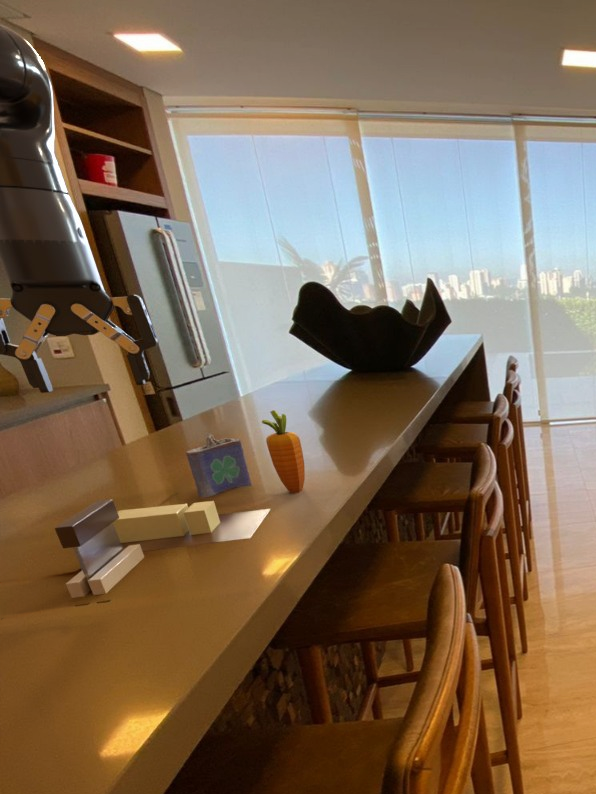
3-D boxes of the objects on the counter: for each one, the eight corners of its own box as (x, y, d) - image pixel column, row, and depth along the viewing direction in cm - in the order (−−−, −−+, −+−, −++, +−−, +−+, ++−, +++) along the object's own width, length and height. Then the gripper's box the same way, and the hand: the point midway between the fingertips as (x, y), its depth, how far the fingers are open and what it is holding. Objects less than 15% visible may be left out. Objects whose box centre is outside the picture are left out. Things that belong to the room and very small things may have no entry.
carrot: (309, 501, 96) (288, 413, 90) (276, 504, 94) (253, 415, 89) (316, 491, 100) (296, 407, 95) (285, 494, 99) (263, 409, 93)
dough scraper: (103, 601, 65) (72, 526, 62) (86, 603, 65) (54, 528, 61) (138, 567, 73) (112, 499, 70) (123, 569, 73) (96, 500, 69)
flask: (208, 504, 94) (189, 442, 90) (195, 502, 95) (175, 440, 91) (256, 486, 103) (241, 429, 99) (244, 485, 103) (228, 428, 99)
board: (93, 565, 74) (90, 557, 73) (135, 530, 84) (132, 523, 84) (251, 546, 79) (249, 538, 79) (272, 515, 90) (270, 508, 89)
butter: (114, 544, 77) (105, 520, 76) (128, 533, 81) (119, 510, 79) (184, 536, 80) (176, 513, 78) (194, 525, 83) (187, 503, 82)
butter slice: (190, 535, 80) (183, 512, 78) (200, 524, 83) (193, 502, 82) (211, 532, 80) (204, 510, 79) (220, 522, 84) (213, 500, 83)
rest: (109, 602, 65) (100, 579, 64) (75, 606, 64) (65, 583, 63) (147, 564, 74) (140, 544, 73) (117, 568, 73) (109, 547, 72)
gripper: (130, 243, 68) (172, 379, 74) (-41, 238, 61) (22, 389, 67) (121, 239, 63) (167, 386, 69) (-69, 233, 55) (2, 399, 61)
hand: (95, 388), depth 68 cm, fingers open, 8 cm apart
